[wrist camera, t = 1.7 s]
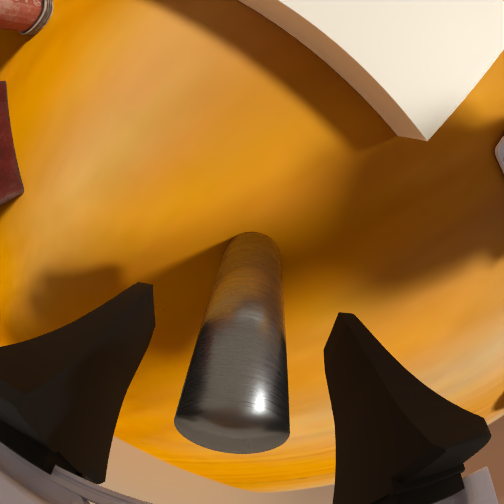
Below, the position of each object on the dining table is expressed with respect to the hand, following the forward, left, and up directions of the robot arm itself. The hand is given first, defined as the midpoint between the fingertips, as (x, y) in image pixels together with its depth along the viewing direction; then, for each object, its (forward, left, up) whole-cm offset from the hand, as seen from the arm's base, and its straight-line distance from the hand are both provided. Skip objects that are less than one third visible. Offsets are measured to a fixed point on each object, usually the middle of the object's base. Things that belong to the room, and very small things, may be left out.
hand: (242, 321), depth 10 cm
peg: (0, 0, -5) cm, 5 cm away
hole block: (+8, -16, -5) cm, 19 cm away
